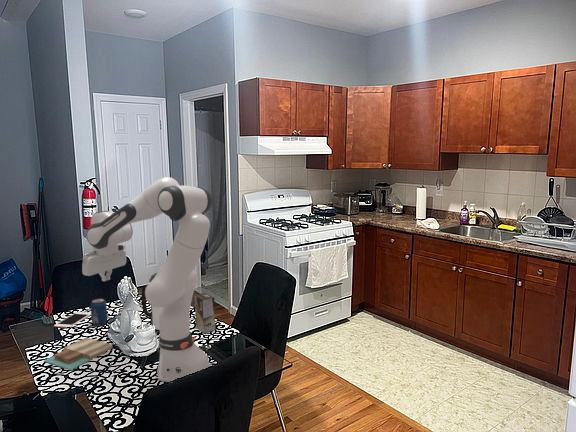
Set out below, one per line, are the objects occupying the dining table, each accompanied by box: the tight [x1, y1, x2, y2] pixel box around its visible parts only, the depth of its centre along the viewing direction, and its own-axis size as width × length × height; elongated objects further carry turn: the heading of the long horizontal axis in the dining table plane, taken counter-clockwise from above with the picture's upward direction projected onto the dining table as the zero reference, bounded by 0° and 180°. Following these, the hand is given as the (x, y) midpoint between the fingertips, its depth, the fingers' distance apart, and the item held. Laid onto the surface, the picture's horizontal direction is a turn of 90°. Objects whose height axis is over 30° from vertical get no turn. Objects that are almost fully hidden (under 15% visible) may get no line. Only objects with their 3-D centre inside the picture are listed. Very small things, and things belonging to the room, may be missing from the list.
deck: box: [63, 337, 113, 361], centre depth 179 cm, size 16×11×2 cm
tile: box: [53, 349, 83, 364], centre depth 171 cm, size 9×6×2 cm, turn 64°
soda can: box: [90, 298, 108, 327], centre depth 206 cm, size 7×7×12 cm
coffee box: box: [194, 292, 216, 334], centre depth 200 cm, size 9×6×16 cm
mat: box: [43, 355, 91, 371], centre depth 170 cm, size 16×9×1 cm, turn 64°
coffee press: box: [141, 272, 163, 331], centre depth 199 cm, size 17×16×30 cm
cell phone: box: [53, 311, 91, 328], centre depth 212 cm, size 9×18×1 cm, turn 171°
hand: (106, 280), depth 180 cm, fingers closed
